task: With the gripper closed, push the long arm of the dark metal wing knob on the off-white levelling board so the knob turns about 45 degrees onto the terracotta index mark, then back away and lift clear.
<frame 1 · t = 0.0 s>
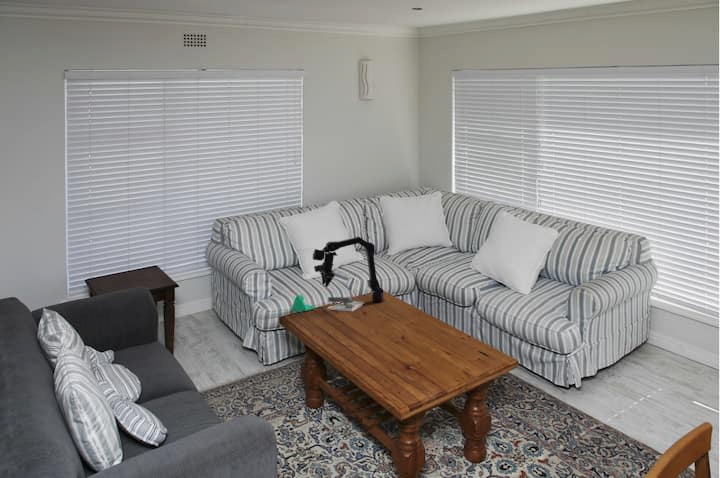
hand: (324, 285, 385), 15 cm above the table, tool pointing down, fingers open, 9 cm apart
footscrew knob: (340, 300, 391), point 4 cm above the table, hinge at 0.0°
levelling board: (345, 307, 388), on the table
green irregular lump: (303, 310, 391), on the table
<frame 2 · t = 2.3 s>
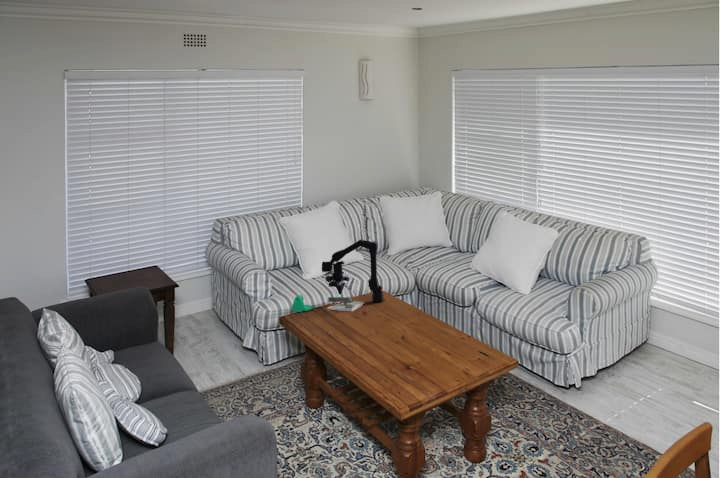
hand: (340, 294, 398), 6 cm above the table, tool pointing down, fingers closed
nothing on the table moved.
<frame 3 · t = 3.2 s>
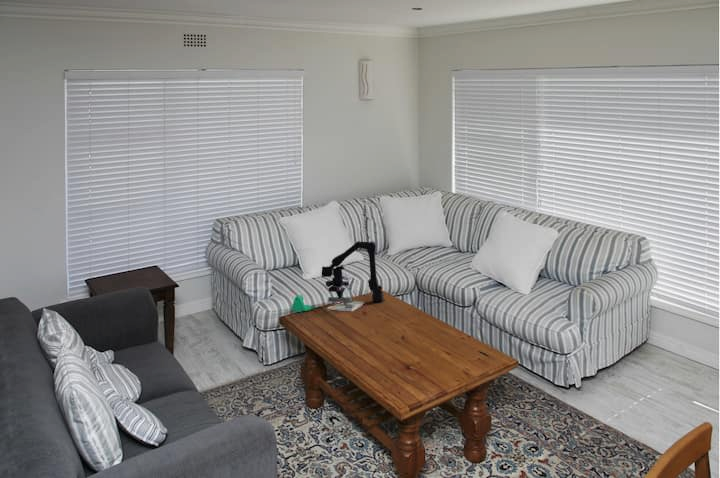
hand: (340, 299, 398), 3 cm above the table, tool pointing down, fingers closed
nothing on the table moved.
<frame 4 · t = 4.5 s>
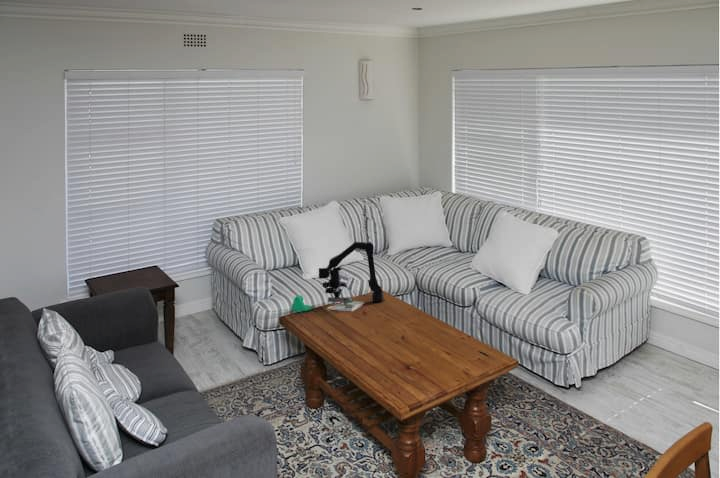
hand: (337, 300, 395), 3 cm above the table, tool pointing down, fingers closed
footscrew knob: (340, 300, 391), point 4 cm above the table, hinge at 1.4°, touching gripper
everything else where it was.
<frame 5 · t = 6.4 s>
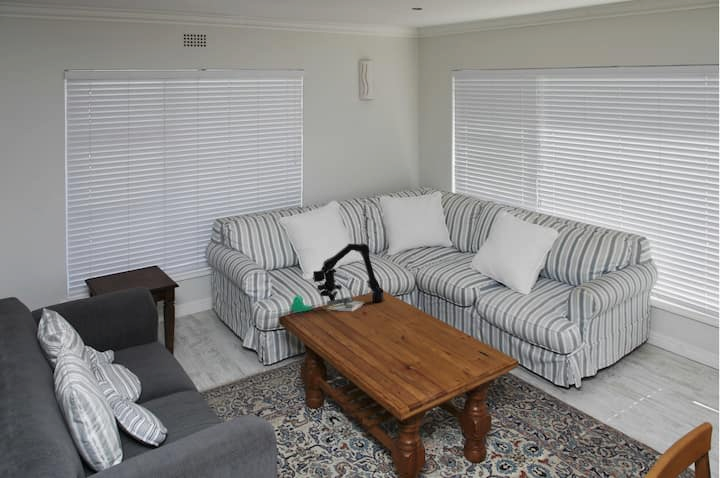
hand: (332, 303, 389), 3 cm above the table, tool pointing down, fingers closed
footscrew knob: (339, 302, 387), point 4 cm above the table, hinge at 45.4°, touching gripper
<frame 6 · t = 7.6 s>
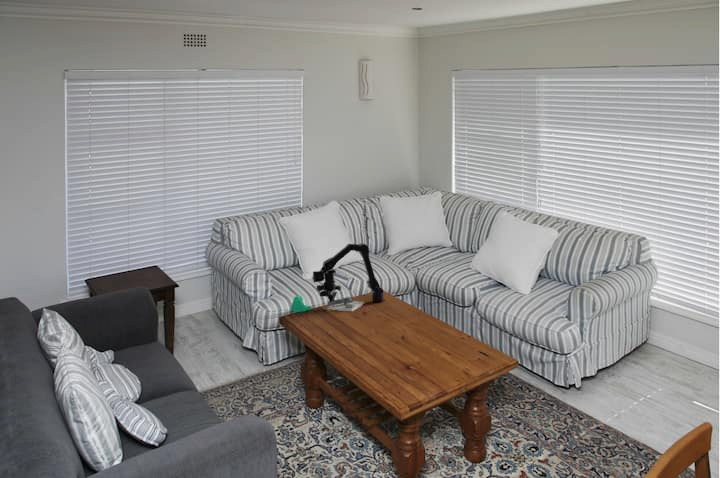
hand: (331, 303, 388), 3 cm above the table, tool pointing down, fingers closed
footscrew knob: (340, 302, 387), point 4 cm above the table, hinge at 50.9°
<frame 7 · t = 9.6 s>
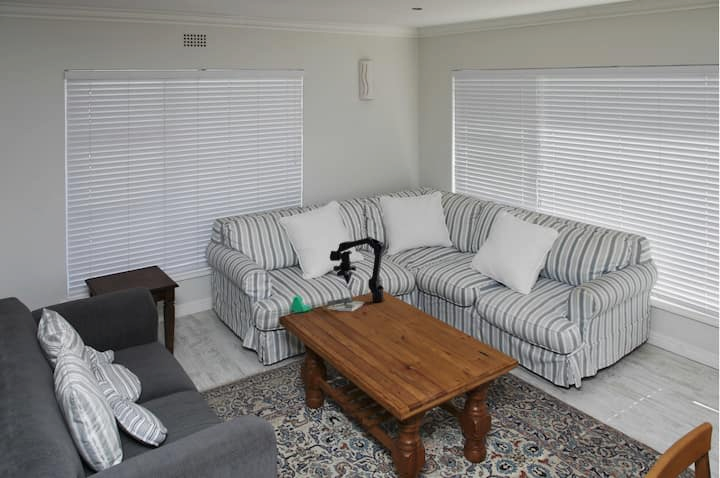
hand: (347, 283, 403), 12 cm above the table, tool pointing down, fingers closed
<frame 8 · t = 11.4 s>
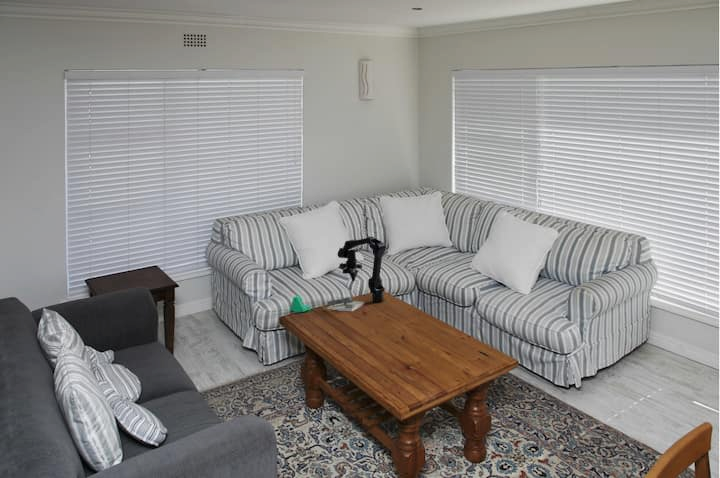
hand: (353, 281, 408), 12 cm above the table, tool pointing down, fingers closed
at the end: footscrew knob at +51° (first picture: +0°); green irregular lump moved 2.1 cm from its start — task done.
